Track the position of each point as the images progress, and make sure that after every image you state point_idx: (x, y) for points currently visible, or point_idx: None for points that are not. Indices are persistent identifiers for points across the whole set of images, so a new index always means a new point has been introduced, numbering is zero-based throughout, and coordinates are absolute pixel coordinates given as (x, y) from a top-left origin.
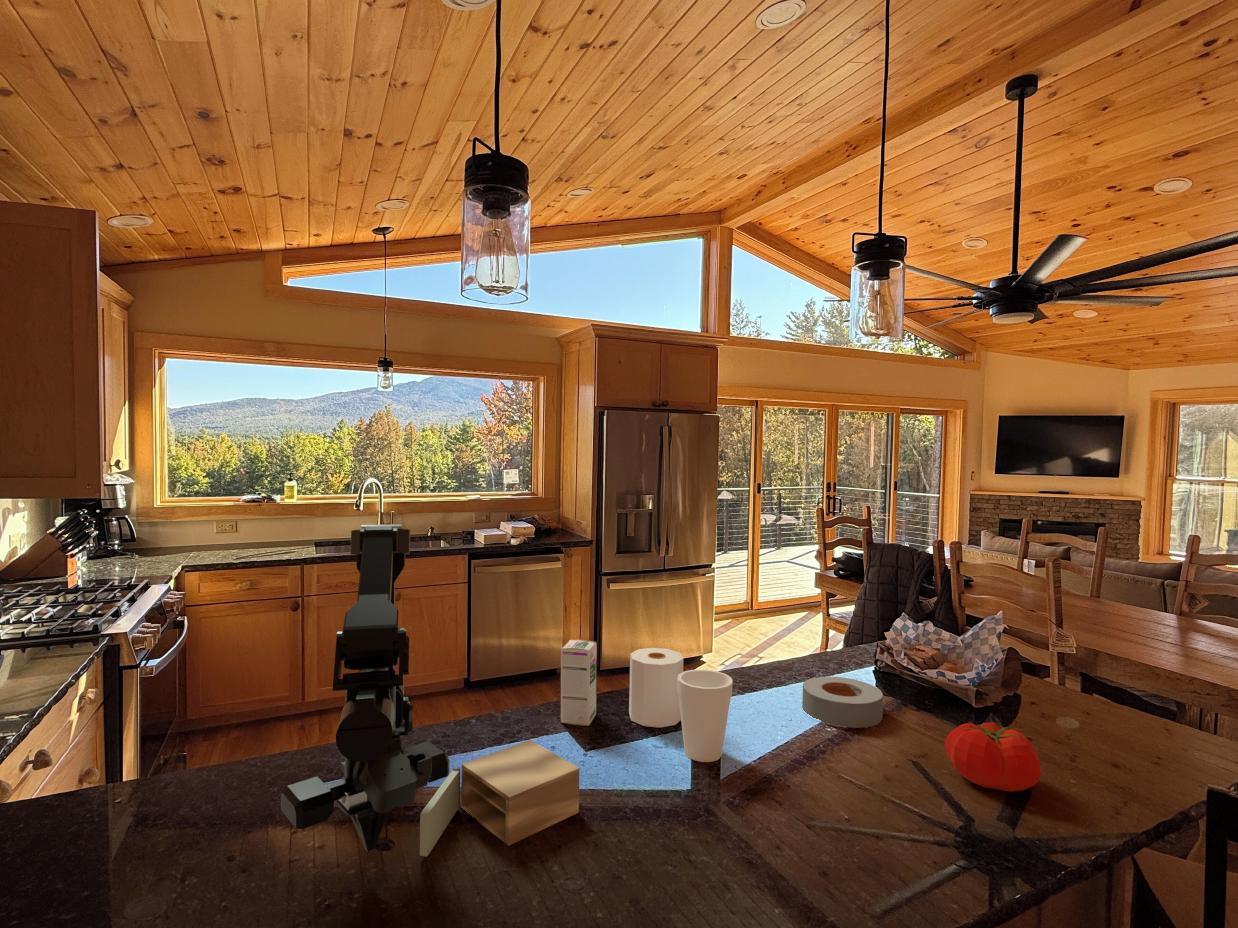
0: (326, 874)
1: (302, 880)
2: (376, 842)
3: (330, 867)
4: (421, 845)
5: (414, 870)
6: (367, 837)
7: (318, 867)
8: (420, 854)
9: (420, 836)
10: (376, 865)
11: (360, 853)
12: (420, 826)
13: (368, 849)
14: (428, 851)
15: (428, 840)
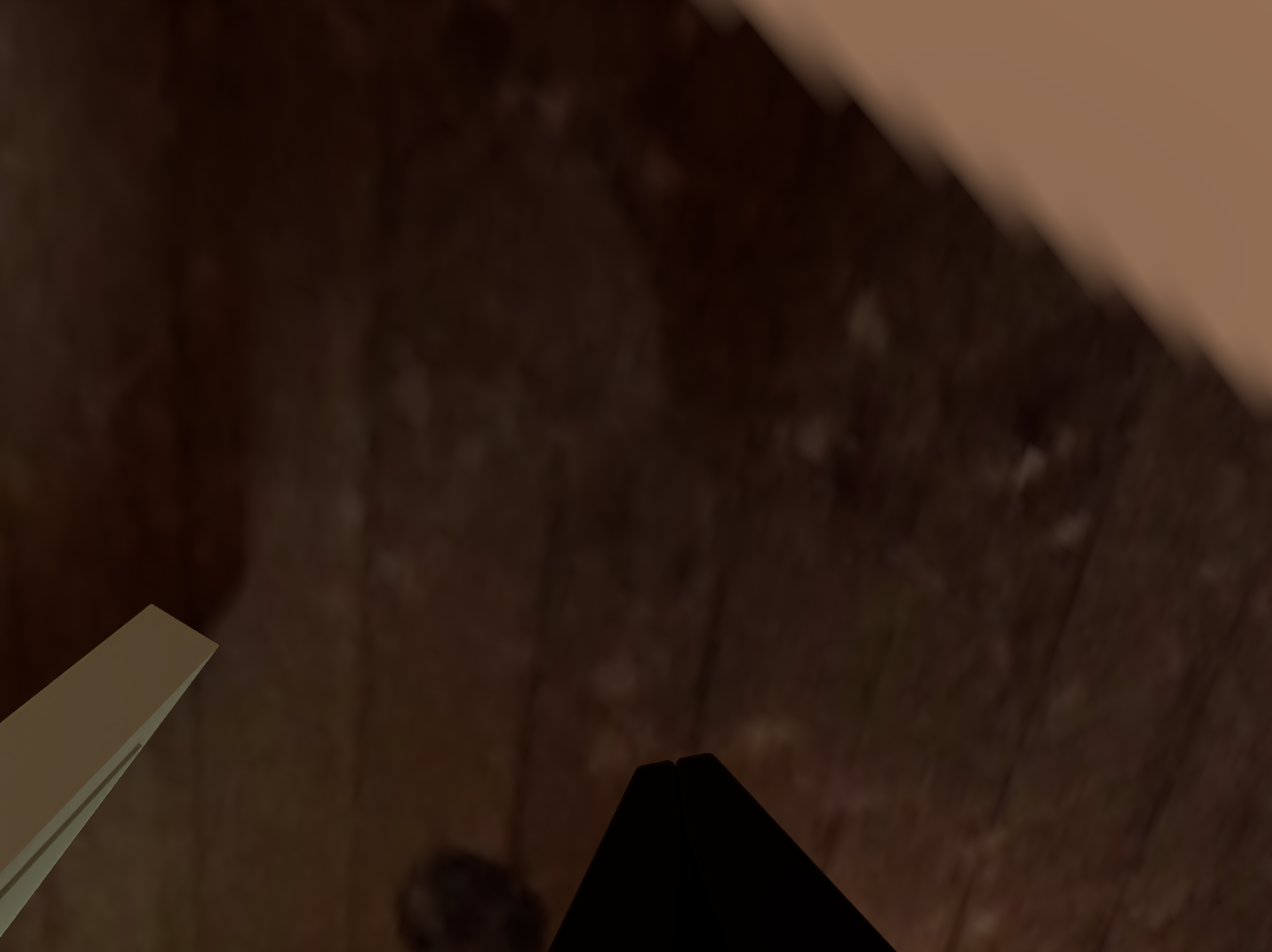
0: (929, 779)
1: (1083, 788)
2: (619, 812)
3: (882, 839)
4: (147, 690)
5: (307, 513)
6: (774, 871)
7: (950, 872)
8: (208, 647)
9: (96, 763)
10: (583, 718)
11: None
12: (2, 864)
13: (711, 764)
14: (119, 636)
15: (38, 699)
